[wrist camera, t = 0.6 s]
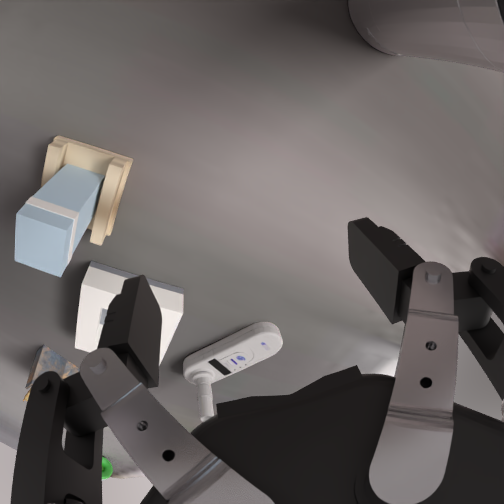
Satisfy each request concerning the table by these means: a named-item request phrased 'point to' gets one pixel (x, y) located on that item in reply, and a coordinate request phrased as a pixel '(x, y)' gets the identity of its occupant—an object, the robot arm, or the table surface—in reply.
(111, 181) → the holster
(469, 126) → the table surface
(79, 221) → the plug
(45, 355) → the marbled rust block
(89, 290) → the socket
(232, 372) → the electronic device
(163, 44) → the table surface
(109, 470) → the speaker
